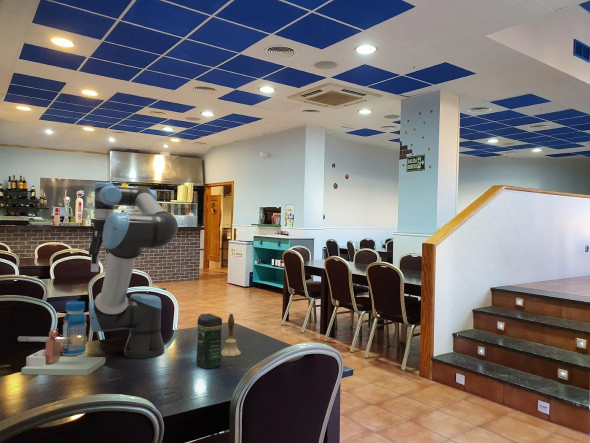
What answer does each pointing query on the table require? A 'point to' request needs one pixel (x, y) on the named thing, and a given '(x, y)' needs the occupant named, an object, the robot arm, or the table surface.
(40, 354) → the ball
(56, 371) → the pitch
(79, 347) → the beverage bottle
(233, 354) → the hand bell
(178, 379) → the table surface
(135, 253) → the robot arm
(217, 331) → the coffee jar
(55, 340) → the player rod
